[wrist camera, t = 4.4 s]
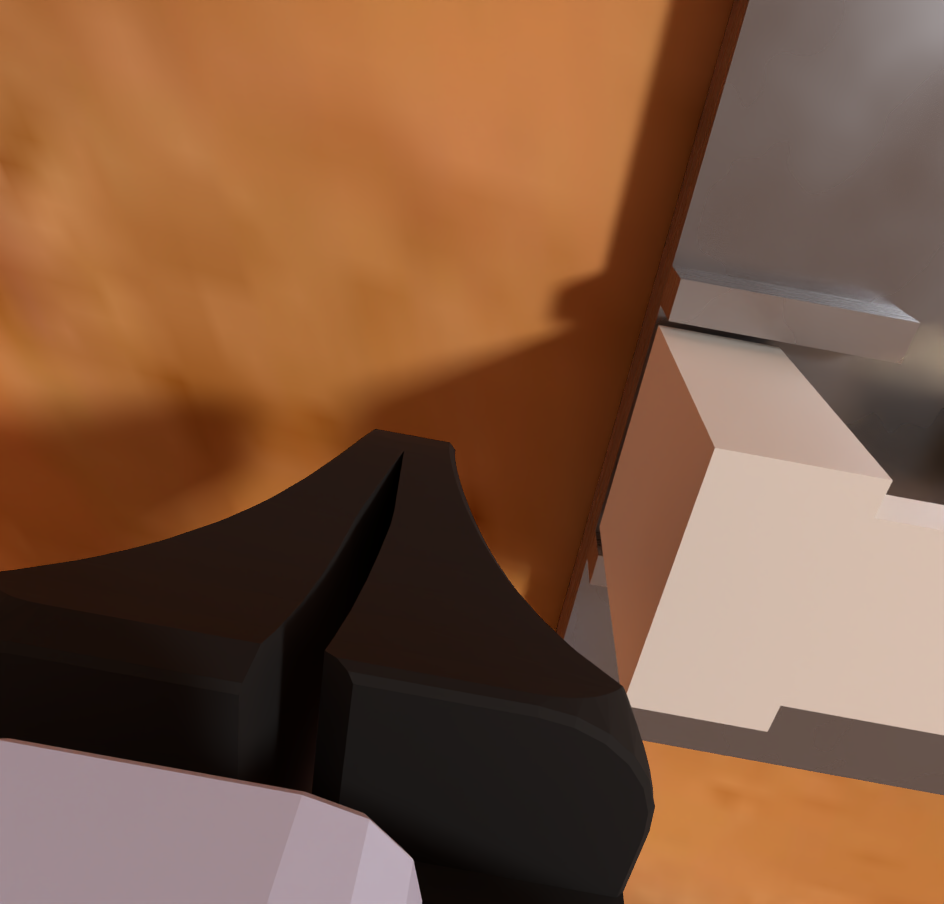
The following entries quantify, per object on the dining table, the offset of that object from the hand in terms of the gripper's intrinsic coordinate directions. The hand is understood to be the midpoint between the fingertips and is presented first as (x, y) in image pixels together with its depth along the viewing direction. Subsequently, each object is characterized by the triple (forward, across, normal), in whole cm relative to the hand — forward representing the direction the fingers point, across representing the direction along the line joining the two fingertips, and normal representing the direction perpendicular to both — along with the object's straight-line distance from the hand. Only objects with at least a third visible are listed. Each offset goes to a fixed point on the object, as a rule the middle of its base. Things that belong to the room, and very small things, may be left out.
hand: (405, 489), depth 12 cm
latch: (+4, -7, 0) cm, 8 cm away
